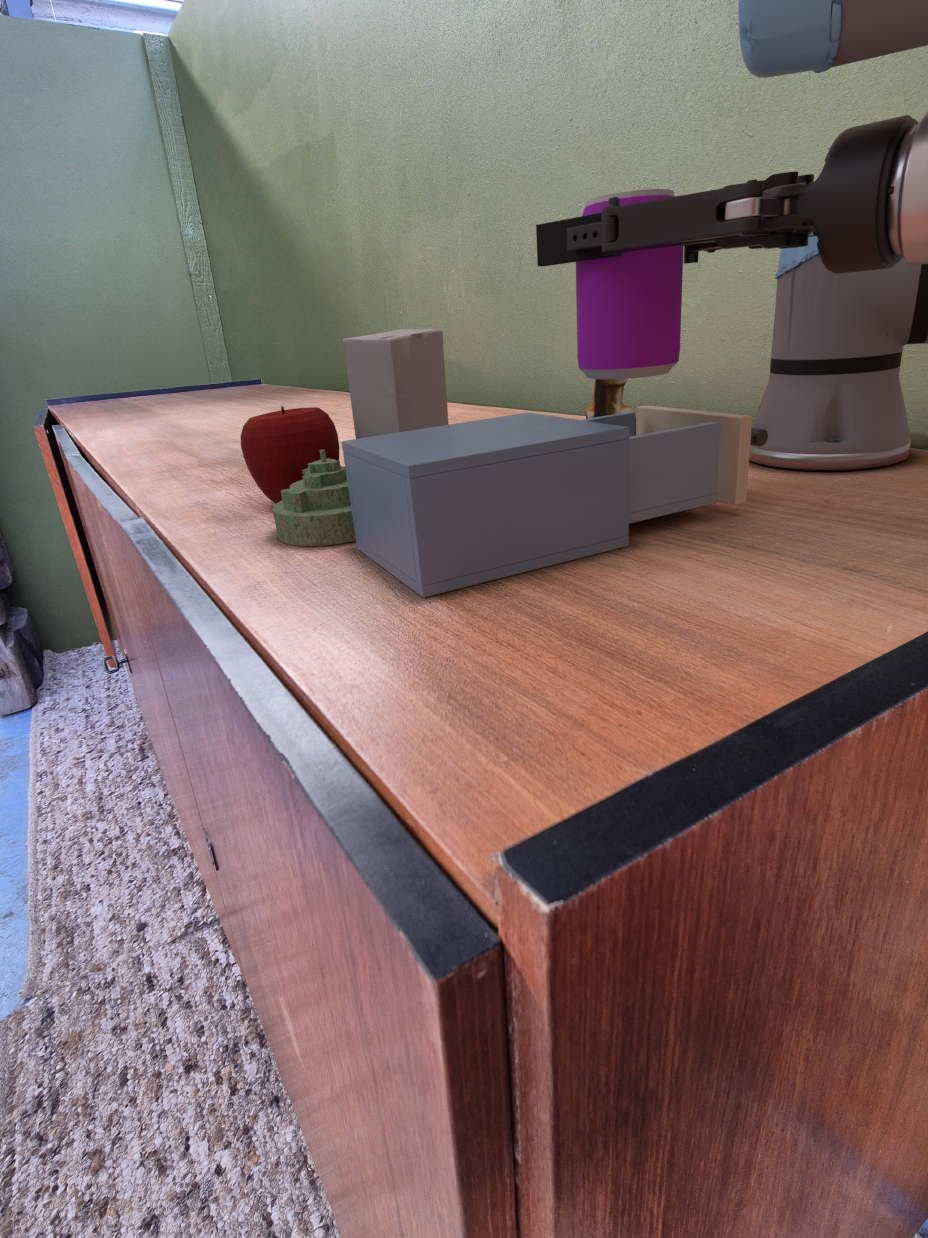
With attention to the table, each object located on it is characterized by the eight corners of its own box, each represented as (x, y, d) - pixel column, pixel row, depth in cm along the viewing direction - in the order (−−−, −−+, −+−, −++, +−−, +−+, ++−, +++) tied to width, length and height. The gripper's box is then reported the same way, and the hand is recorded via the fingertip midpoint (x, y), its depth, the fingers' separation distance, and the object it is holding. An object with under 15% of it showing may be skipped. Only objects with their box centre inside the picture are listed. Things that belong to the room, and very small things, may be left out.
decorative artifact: (351, 549, 58) (410, 515, 66) (338, 462, 55) (401, 438, 63) (254, 543, 62) (320, 512, 70) (237, 462, 59) (308, 440, 67)
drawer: (685, 470, 70) (688, 398, 67) (790, 491, 59) (798, 407, 56) (503, 509, 62) (498, 429, 59) (587, 541, 51) (585, 446, 49)
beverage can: (673, 367, 58) (679, 198, 53) (685, 375, 51) (692, 181, 46) (578, 373, 59) (575, 209, 55) (576, 382, 52) (573, 195, 48)
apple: (249, 503, 76) (229, 407, 73) (337, 489, 79) (322, 396, 76) (259, 522, 68) (238, 415, 64) (356, 505, 71) (341, 402, 67)
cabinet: (532, 510, 64) (528, 412, 61) (629, 546, 52) (629, 426, 49) (357, 548, 58) (341, 441, 54) (423, 598, 46) (408, 465, 43)
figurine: (651, 476, 72) (656, 256, 64) (575, 477, 75) (570, 266, 67) (655, 466, 76) (659, 259, 69) (582, 467, 79) (579, 267, 71)
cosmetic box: (409, 480, 81) (392, 329, 74) (460, 484, 77) (447, 325, 70) (358, 498, 74) (334, 335, 68) (410, 503, 70) (390, 331, 64)
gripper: (838, 270, 35) (488, 305, 50) (944, 264, 48) (643, 293, 63) (858, 83, 32) (480, 181, 47) (966, 132, 45) (644, 196, 60)
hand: (574, 245), depth 55 cm, fingers closed on beverage can, 8 cm apart
